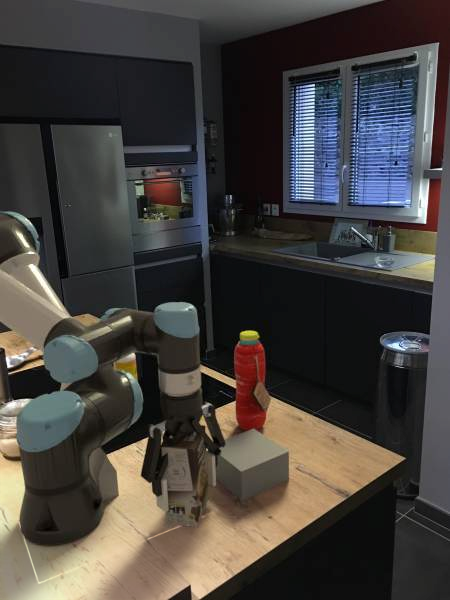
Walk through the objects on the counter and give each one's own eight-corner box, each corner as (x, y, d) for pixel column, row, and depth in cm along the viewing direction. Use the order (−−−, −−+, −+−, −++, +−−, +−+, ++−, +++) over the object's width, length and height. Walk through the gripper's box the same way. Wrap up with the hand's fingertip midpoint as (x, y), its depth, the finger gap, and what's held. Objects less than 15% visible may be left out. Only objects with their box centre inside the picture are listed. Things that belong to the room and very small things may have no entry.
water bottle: (278, 437, 127) (277, 339, 120) (247, 443, 124) (245, 344, 118) (259, 415, 138) (257, 324, 131) (230, 421, 135) (227, 328, 129)
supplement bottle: (140, 388, 157) (136, 347, 154) (118, 392, 155) (114, 351, 152) (135, 379, 163) (131, 340, 160) (113, 383, 161) (110, 344, 158)
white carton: (101, 503, 104) (96, 458, 102) (91, 486, 110) (86, 443, 108) (119, 496, 106) (114, 452, 104) (108, 480, 112) (103, 438, 109)
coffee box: (198, 528, 96) (194, 449, 92) (165, 524, 97) (159, 446, 93) (210, 497, 105) (206, 424, 101) (179, 494, 106) (174, 422, 102)
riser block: (242, 503, 103) (241, 471, 101) (209, 474, 113) (208, 445, 111) (289, 481, 110) (288, 451, 108) (254, 456, 119) (253, 428, 117)
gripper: (136, 416, 85) (146, 533, 90) (242, 375, 99) (245, 478, 105) (113, 402, 90) (124, 512, 96) (216, 365, 105) (220, 463, 110)
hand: (187, 495), depth 100 cm, fingers closed on coffee box, 11 cm apart
